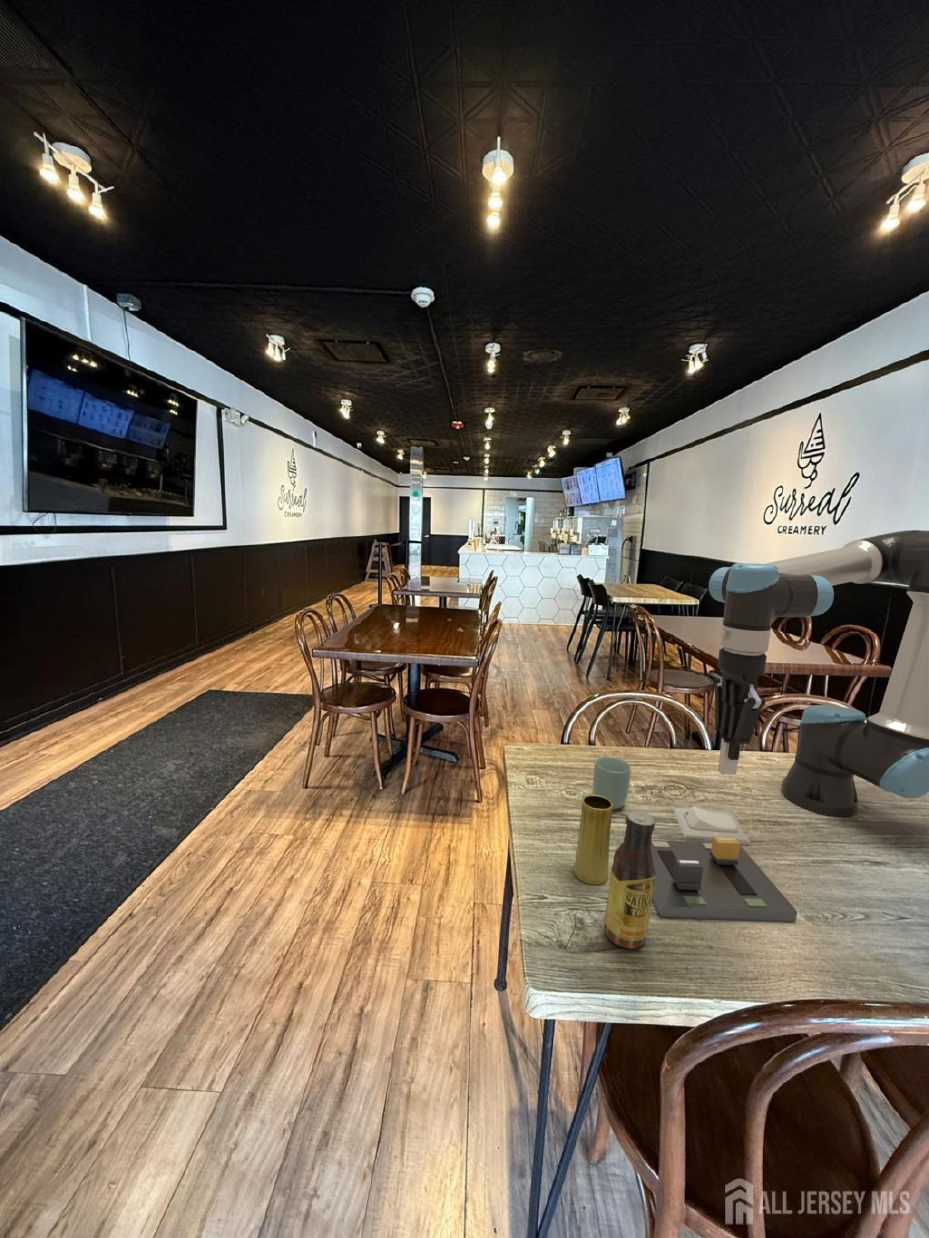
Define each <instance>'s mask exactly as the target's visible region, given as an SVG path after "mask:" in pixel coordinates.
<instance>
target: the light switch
mask: <svg viewBox="0 0 929 1238" xmlns="http://www.w3.org/2000/svg"><path fill="white" fill-rule="evenodd" d="M673 813H674V815H675V819H676V821H677V822H678V825H679V828H680V830H681V833H682V835H683V837H684V838H691V839H697V840H702V841H703V840H706V841H713V836H723V837H735V838H736V839H737V840H738V841H739V843H740V845H742V846H743V845H746V846H751V845H752V844H751V840H750V838H749V837H748V836H747V834H746V832H745V831H744V829H743V827H742V825H741V824H740V822H739V821H738V819H737V818H736V816H735V814H734V813H733V812H732V811H726V810H724V811H723V810H710V809H702V808H700V807H698V806H692V807H691V808H683V807H675V808H673Z"/></svg>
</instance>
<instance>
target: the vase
mask: <svg viewBox="0 0 929 1238" xmlns="http://www.w3.org/2000/svg"><path fill="white" fill-rule="evenodd" d="M581 803H582V805H581V812H580V813H581V815H580V821H579V828H578V837H577V845H576V852H575V861H574V865H573V874H574V875H575V877H576V878H577V879H578V880H579V881H581V882H583V883H586V884H588V885H602V884H605V883H606V882H607V881H608V878H609V875H608V874H609V858H610V855H609V854H610V852H609V851H610V840H611V825H612V817H613V811H614V810H613V804H612V802H611V801H610V800H609V799H608V798H606V797H603V796H600V795H594V794H593V793H592V794H587V795H584V796H583V797H582V802H581Z"/></svg>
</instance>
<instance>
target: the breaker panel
mask: <svg viewBox="0 0 929 1238" xmlns="http://www.w3.org/2000/svg"><path fill="white" fill-rule="evenodd" d="M711 848H712V842H710V841H690V840H687V841H685V840H665V839H664V840H661V839H651V854H652V859H653V864H654V869H655V874H656V875H655V881H654V889H653V895H652V903H653V904H654V907H655V909H656V911H657V913H658V915H659V917H660V918H670V919H671V918H672V919H674V918H675V919H676V918H677V919H693V920H694V919H695V920H699V919H700V920H702V919H703V920H724V921H725V920H726V921H729V920H730V921H746V922H747V921H748V922H750V921H751V922H752V921H753V922H754V921H755V922H777V923H797V922H796V921H797V916H798V911H797V909H796V908H795V907H794V906H793V904H792V903H791V902H790V901H789V900H788V899H787V898H786V897H785V895H783V893H782V892H781V891H780V889H779V888H778V887H777V886H776V885H775V884H774V883H773V881H772V880H771V879H770V878H769V876H767V875H766V873H765V872H764V871H763V870H762V868H760V866H759V865H758V864H757V863H756V862H755V860H753V858H752V857H751V856H750V855H749V854H748V852H747V851H746V850H745V849H744V848H743V847H742V844H740V849H739V855H738V859H737V860H738V865H724V864H717V862H716V861H715V860H714V858H713V857H712V856H711V854H710V852H711ZM675 859H698V860H699V861H700V863H701V864H702V866H703V874H702V881H701V884H700V885H701V890H681V889H679V888H678V886H677V885H676V883H675V881H674V880H673V878H672V875H673V869H674V861H675Z"/></svg>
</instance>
